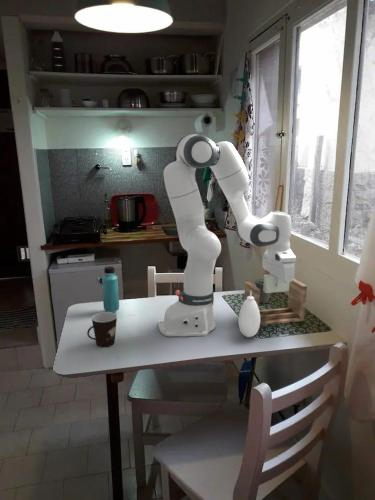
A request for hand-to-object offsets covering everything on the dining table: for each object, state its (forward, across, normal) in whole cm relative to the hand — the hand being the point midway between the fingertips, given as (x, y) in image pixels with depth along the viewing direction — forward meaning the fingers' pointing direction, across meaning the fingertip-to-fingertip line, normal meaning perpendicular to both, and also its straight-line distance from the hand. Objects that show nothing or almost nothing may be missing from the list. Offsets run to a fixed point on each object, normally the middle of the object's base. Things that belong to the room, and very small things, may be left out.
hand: (276, 285), depth 152 cm
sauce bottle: (+14, +12, -16) cm, 25 cm away
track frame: (+14, 0, 0) cm, 14 cm away
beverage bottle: (+14, -21, -64) cm, 69 cm away
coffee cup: (+15, -19, +4) cm, 24 cm away
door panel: (+2, 0, 0) cm, 2 cm away
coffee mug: (+14, +6, -69) cm, 71 cm away
